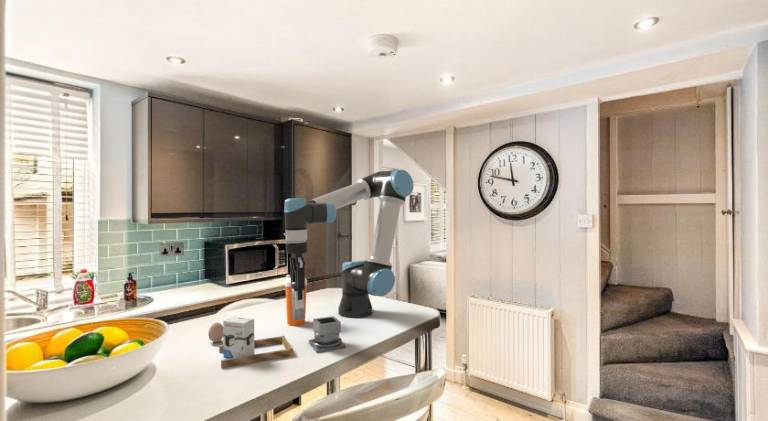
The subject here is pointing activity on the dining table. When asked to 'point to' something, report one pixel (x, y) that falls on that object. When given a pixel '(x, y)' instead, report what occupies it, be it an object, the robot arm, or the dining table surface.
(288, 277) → the shaker bottle
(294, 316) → the handle peg
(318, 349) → the peg socket
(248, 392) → the dining table surface
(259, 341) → the bay
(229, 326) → the ink box
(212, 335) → the egg
